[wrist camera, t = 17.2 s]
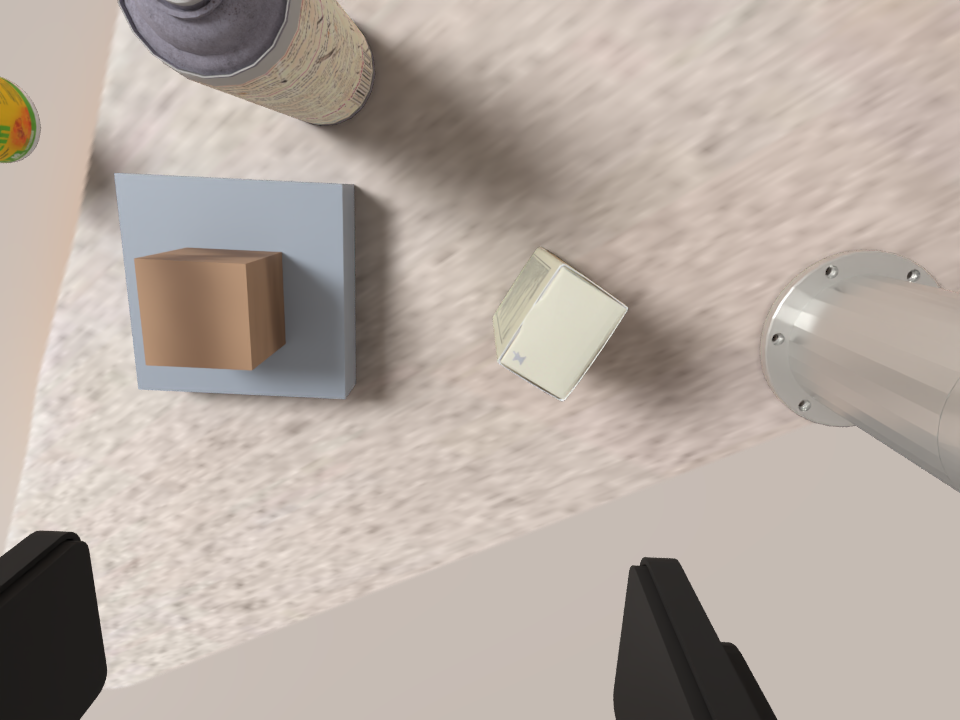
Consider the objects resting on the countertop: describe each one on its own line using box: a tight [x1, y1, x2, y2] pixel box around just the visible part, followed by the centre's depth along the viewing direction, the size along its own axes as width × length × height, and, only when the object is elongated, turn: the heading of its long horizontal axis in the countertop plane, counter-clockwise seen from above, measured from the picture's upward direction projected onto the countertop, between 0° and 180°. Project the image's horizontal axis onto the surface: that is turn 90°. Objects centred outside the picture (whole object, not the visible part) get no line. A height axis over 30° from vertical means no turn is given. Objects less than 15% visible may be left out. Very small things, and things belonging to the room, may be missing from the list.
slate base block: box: [114, 173, 356, 399], centre depth 41 cm, size 14×14×4 cm
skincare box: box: [492, 247, 628, 401], centre depth 37 cm, size 6×4×12 cm
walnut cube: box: [134, 248, 286, 370], centre depth 36 cm, size 6×6×6 cm
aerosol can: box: [118, 0, 375, 126], centre depth 29 cm, size 7×7×20 cm
